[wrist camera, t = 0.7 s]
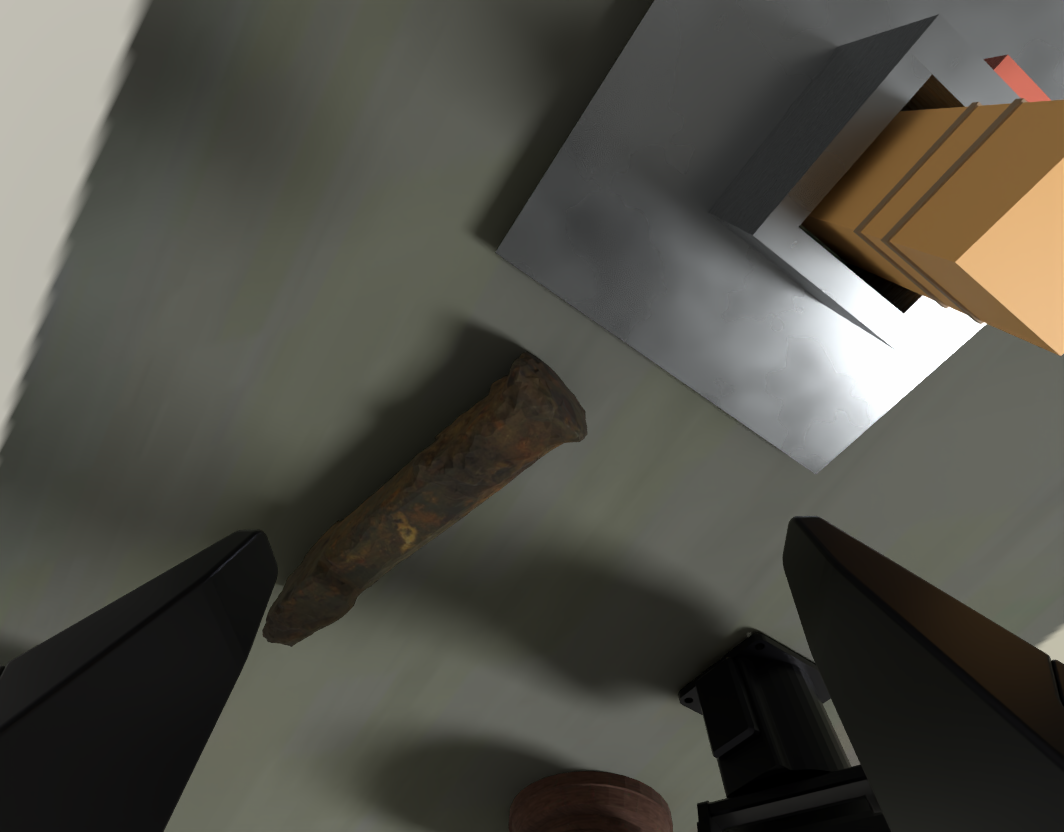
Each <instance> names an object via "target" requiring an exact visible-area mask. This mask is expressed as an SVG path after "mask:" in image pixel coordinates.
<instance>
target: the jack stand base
mask: <svg viewBox="0 0 1064 832" xmlns="http://www.w3.org/2000/svg"><path fill="white" fill-rule="evenodd" d="M1020 98H1024V99H1025V100H1026V101H1027V102H1038V101H1052V100H1064V0H654V1H653V3H652V4H651V6H650V7H649V9H648V10H647V12H646V14H645V15H644V17H643V18H642V20H641V22H640V23H639V25H638V26H637V28H636V29H635V31H634V33H633V34H632V36H631V37H630V39H629V41H628V42H627V44H626V45H625V47H624V49H623V50H622V52H621V53H620V55H619V56H618V58H617V60H616V61H615V63H614V64H613V66H612V68H611V69H610V71H609V72H608V74H607V75H606V77H605V79H604V80H603V82H602V83H601V85H600V87H599V88H598V90H597V91H596V93H595V95H594V96H593V98H592V99H591V101H590V102H589V104H588V106H587V107H586V109H585V110H584V112H583V114H582V115H581V117H580V118H579V120H578V121H577V123H576V125H575V126H574V128H573V129H572V131H571V133H570V134H569V136H568V137H567V139H566V141H565V142H564V144H563V145H562V147H561V148H560V150H559V152H558V153H557V155H556V156H555V158H554V160H553V161H552V163H551V164H550V166H549V167H548V169H547V171H546V172H545V174H544V175H543V177H542V179H541V180H540V182H539V183H538V185H537V186H536V188H535V190H534V191H533V193H532V194H531V196H530V198H529V199H528V201H527V202H526V204H525V206H524V207H523V209H522V210H521V212H520V213H519V215H518V217H517V218H516V220H515V221H514V223H513V225H512V226H511V228H510V229H509V231H508V232H507V234H506V236H505V237H504V239H503V240H502V242H501V244H500V245H499V247H498V249H497V251H496V252H495V253H497V254H498V255H500V256H501V257H502V258H504V259H505V260H507V261H508V262H510V263H511V264H513V265H514V266H515V267H517V268H518V269H520V270H521V271H523V272H524V273H526V274H527V275H528V276H530V277H531V278H533V279H534V280H536V281H537V282H539V283H540V284H541V285H543V286H544V287H546V288H547V289H549V290H550V291H552V292H553V293H554V294H556V295H557V296H559V297H560V298H562V299H563V300H565V301H566V302H567V303H569V304H570V305H572V306H573V307H575V308H576V309H578V310H579V311H580V312H582V313H583V314H585V315H586V316H588V317H589V318H591V319H592V320H593V321H595V322H596V323H598V324H599V325H601V326H602V327H604V328H605V329H606V330H608V331H609V332H611V333H612V334H614V335H615V336H617V337H618V338H620V339H621V340H622V341H624V342H625V343H627V344H628V345H630V346H631V347H633V348H634V349H635V350H637V351H638V352H640V353H641V354H643V355H644V356H646V357H647V358H648V359H650V360H651V361H653V362H654V363H656V364H657V365H659V366H660V367H661V368H663V369H664V370H666V371H667V372H669V373H670V374H672V375H673V376H674V377H676V378H677V379H679V380H680V381H682V382H683V383H685V384H686V385H687V386H689V387H690V388H692V389H693V390H695V391H696V392H698V393H699V394H700V395H702V396H703V397H705V398H706V399H708V400H709V401H711V402H712V403H713V404H715V405H716V406H718V407H719V408H721V409H722V410H724V411H725V412H726V413H728V414H729V415H731V416H732V417H734V418H735V419H737V420H738V421H739V422H741V423H742V424H744V425H745V426H747V427H748V428H750V429H751V430H752V431H754V432H755V433H757V434H758V435H760V436H761V437H763V438H764V439H765V440H767V441H768V442H770V443H771V444H773V445H774V446H776V447H777V448H778V449H780V450H781V451H783V452H784V453H786V454H787V455H789V456H790V457H791V458H793V459H794V460H796V461H797V462H799V463H800V464H802V465H803V466H804V467H806V468H807V469H809V470H810V471H812V472H813V473H815V474H817V473H818V472H819V471H820V470H821V469H823V468H824V467H825V466H826V465H827V464H828V463H829V462H830V461H832V460H833V459H834V458H835V457H836V456H837V455H838V454H840V453H841V452H842V451H843V450H844V449H845V448H846V447H847V446H849V445H850V444H851V443H852V442H853V441H854V440H855V439H856V438H858V437H859V436H860V435H861V434H862V433H863V432H864V431H866V430H867V429H868V428H869V427H870V426H871V425H872V424H873V423H875V422H876V421H877V420H878V419H879V418H880V417H881V416H883V415H884V414H885V413H886V412H887V411H888V410H889V409H890V408H892V407H893V406H894V405H895V404H896V403H897V402H898V401H899V400H901V399H902V398H903V397H904V396H905V395H906V394H907V393H909V392H910V391H911V390H912V389H913V388H914V387H915V386H916V385H918V384H919V383H920V382H921V381H922V380H923V379H924V378H925V377H927V376H928V375H929V374H930V373H931V372H932V371H933V370H935V369H936V368H937V367H938V366H939V365H940V364H941V363H942V362H944V361H945V360H946V359H947V358H948V357H949V356H950V355H951V354H953V353H954V352H955V351H956V350H957V349H958V348H959V347H961V346H962V345H963V344H964V343H965V342H966V341H967V340H968V339H970V338H971V337H972V336H973V335H974V334H975V333H976V332H978V331H979V330H980V329H981V328H982V327H983V326H984V325H985V324H986V323H983V324H979V323H977V322H975V321H974V320H972V319H971V318H970V317H969V316H968V315H966V314H964V313H961V312H959V311H957V310H954V309H952V308H950V307H948V308H947V309H945V308H943V307H941V306H940V305H939V304H938V303H936V302H935V301H934V300H932V299H929V298H927V297H925V296H922V295H920V294H918V293H916V292H913V291H911V290H909V289H907V288H904V287H902V286H900V285H897V284H895V283H893V282H891V281H888V280H886V279H884V278H881V277H879V276H877V275H875V274H872V273H870V272H868V271H865V270H863V269H861V268H859V267H856V266H854V265H852V264H849V263H847V264H844V263H842V262H840V261H839V260H838V259H837V258H835V257H834V256H833V255H832V254H831V253H829V252H828V251H827V250H826V249H825V248H823V247H822V246H821V245H820V244H819V243H817V242H816V241H815V240H814V239H812V238H811V237H810V236H809V235H808V234H806V233H805V232H804V231H803V230H802V229H800V228H799V226H800V225H801V223H802V222H803V221H804V220H805V219H806V218H807V217H808V215H809V214H810V213H811V212H812V211H813V210H814V209H815V207H816V206H817V205H818V204H819V203H820V202H821V201H822V199H823V198H824V197H825V196H826V195H827V194H828V193H829V191H830V190H831V189H832V188H833V187H834V186H835V185H836V184H837V182H838V181H839V180H840V179H841V178H842V177H843V176H844V174H845V173H846V172H847V171H848V170H849V169H850V168H851V166H852V165H853V164H854V163H855V162H856V161H857V160H858V158H859V157H860V156H861V155H862V154H863V153H864V152H865V150H866V149H867V148H868V147H869V146H870V145H871V144H872V142H873V141H874V140H875V139H876V138H877V137H878V136H879V134H880V133H881V132H882V131H883V130H884V129H885V128H886V126H887V125H888V124H889V123H890V122H891V121H892V120H893V118H894V117H895V116H896V115H897V114H898V113H899V112H900V111H912V110H926V109H940V108H954V107H968V106H969V105H970V104H971V103H972V102H980V103H981V104H982V105H996V104H1010V103H1012V102H1013V101H1014V100H1015V99H1020Z"/></svg>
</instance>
